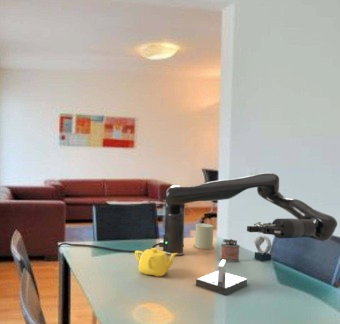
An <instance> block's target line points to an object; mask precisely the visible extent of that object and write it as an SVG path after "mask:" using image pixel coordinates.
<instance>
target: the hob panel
mask: <svg viewBox="0 0 340 324" xmlns="http://www.w3.org/2000/svg"><path fill="white" fill-rule="evenodd" d="M247 285H248V278H246V277H242V276H240V275H235V274H231V273H228V272H226V276H225V278H224V280H223V282H218V270H217V271H214V272H211V273H209V274H208V273H206V275H204V276H200V277H198V278H196V279H195V286H196V287H200V288H201V289H205V290H208V291H211V292H214V293H218V294H221V295H224V296H227V295H229V294H231V293H233V292H235V291H237V290H240V289H242V288H243V287H246V286H247Z"/></svg>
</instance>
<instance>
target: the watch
mask: <svg viewBox="0 0 340 324" xmlns="http://www.w3.org/2000/svg"><path fill="white" fill-rule="evenodd" d="M265 241H266V243H267V244H266V247H265V249H264V250H262V248H261V246H262V244H264V242H265ZM253 242H254V246H255V249H256V250H257V251H255V252H254V259H255V260H257V261H260V262H266V261H267V262H268V261H272V253H270V251H271V249H272V241H271V239H270V237H268V236H266V235H258V236H257V237H255V239H254V241H253Z"/></svg>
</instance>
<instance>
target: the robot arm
mask: <svg viewBox="0 0 340 324" xmlns="http://www.w3.org/2000/svg"><path fill="white" fill-rule="evenodd" d="M254 188H256V191H257V194H258V196H260V197H261V198H262V199H264V200H265V201H268V202H269V203H271V204H273V205H275V206H277V207H279V208H280V209H283V210H284V211H286V212H288V213H289V214H290V215H292V216H293V217H295V218H275V219H274V220H273V221H272V222H264V223H263V222H260V221H258V222H256V223H253V225H247V226H246V232H247V233H258V234H263V235H269V236H270V235H271V236H274V237H275V238H277V239H297V238H309V239H313V240H317V241H320V242H327V241H330V240H331V238H332V237H333V235H334V233H335V231H336V229H337V227H338V221H337V219H336V218H335V217H334V216H333V215H330V214H327V213H325V212H321V211H319V210H316V209H314V208H312V206H310V205H308V204H307V203H305V202H304V201H302V200H301V199H296V198H288V197H286V196H284V195H283V194H282V193H281V192H280V177H279V175H277V174H276V173H273V172H263V173H257V174H253V175H247V176H244V177H238V178H237V177H236V178H230V179H220V180H213V181H208V182H205V183H202V184H198V185H197V184H196V185H193V186H192V185H191V186H180V185H178V184H177V185H176V184H175V185H173V184H172V185H170V186H169V187H168V188H167V189H166V192H165V207H164V208H165V210H164V218H165V219H164V233H163V238H162V239H163V240H162V239H161V240H160V241H159V242H158V243H155V244H153V245H152V246H151V248H156V247H157V246H158V248H162V251H165V252H166V255H167V256H168V255H169V256H171V254H173V253H178V254H176V255H175V256H174V257H177V256H178V257H179V256H183V255H184V248H185V244H184V242H185V212H186V211H185V207H186V206H185V205H186V204H189V203H196V202H213V201H224V200H225V201H226V200H230V199H233V198H235V197H236V196H238V195H240V194H241V193H243V192H244V191H246V190H249V189H254ZM61 246H73V247H89V248H96V249H103V250H109V251H113V252H123V253H135V251H136V250H129V249H119V248H113V247H106V246H99V245H94V244H93V245H92V244H85V243H84V244H83V243H70V242H62V243H60V244H58V245H57V246H56V248H60V247H61ZM142 252H144V250H143V251H142Z"/></svg>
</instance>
